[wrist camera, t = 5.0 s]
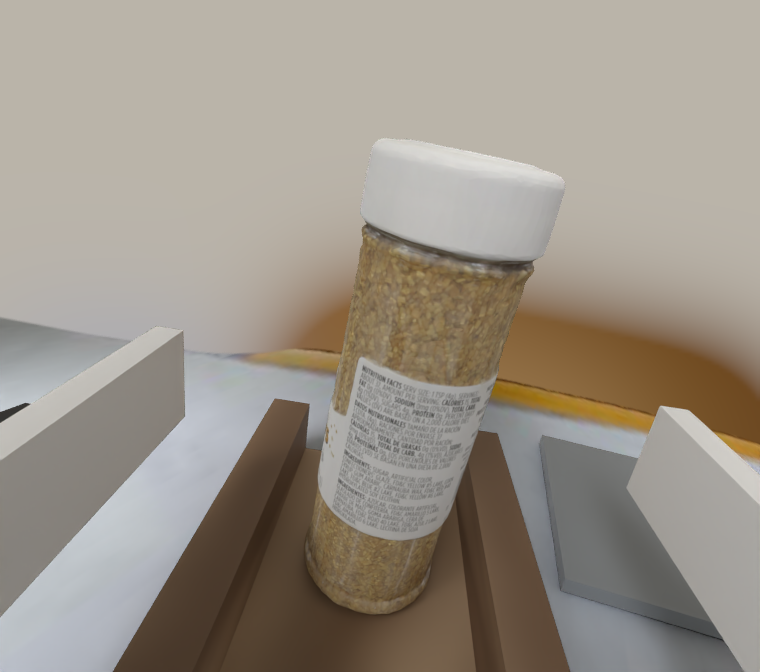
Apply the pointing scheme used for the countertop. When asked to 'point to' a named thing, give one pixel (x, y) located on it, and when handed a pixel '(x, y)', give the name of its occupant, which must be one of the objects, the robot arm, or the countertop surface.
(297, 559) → the walnut cradle
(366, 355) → the spice jar
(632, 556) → the slate coaster
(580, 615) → the countertop surface
